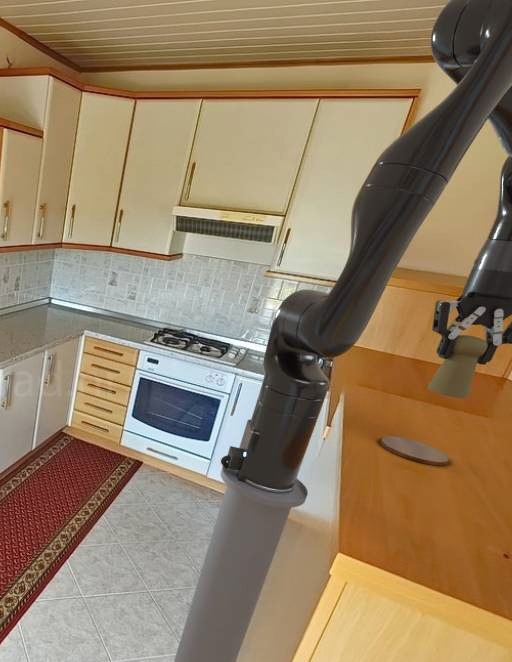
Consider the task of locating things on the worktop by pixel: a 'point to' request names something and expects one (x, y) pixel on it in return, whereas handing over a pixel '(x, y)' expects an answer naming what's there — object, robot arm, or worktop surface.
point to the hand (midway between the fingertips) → (461, 360)
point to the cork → (459, 367)
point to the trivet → (414, 450)
